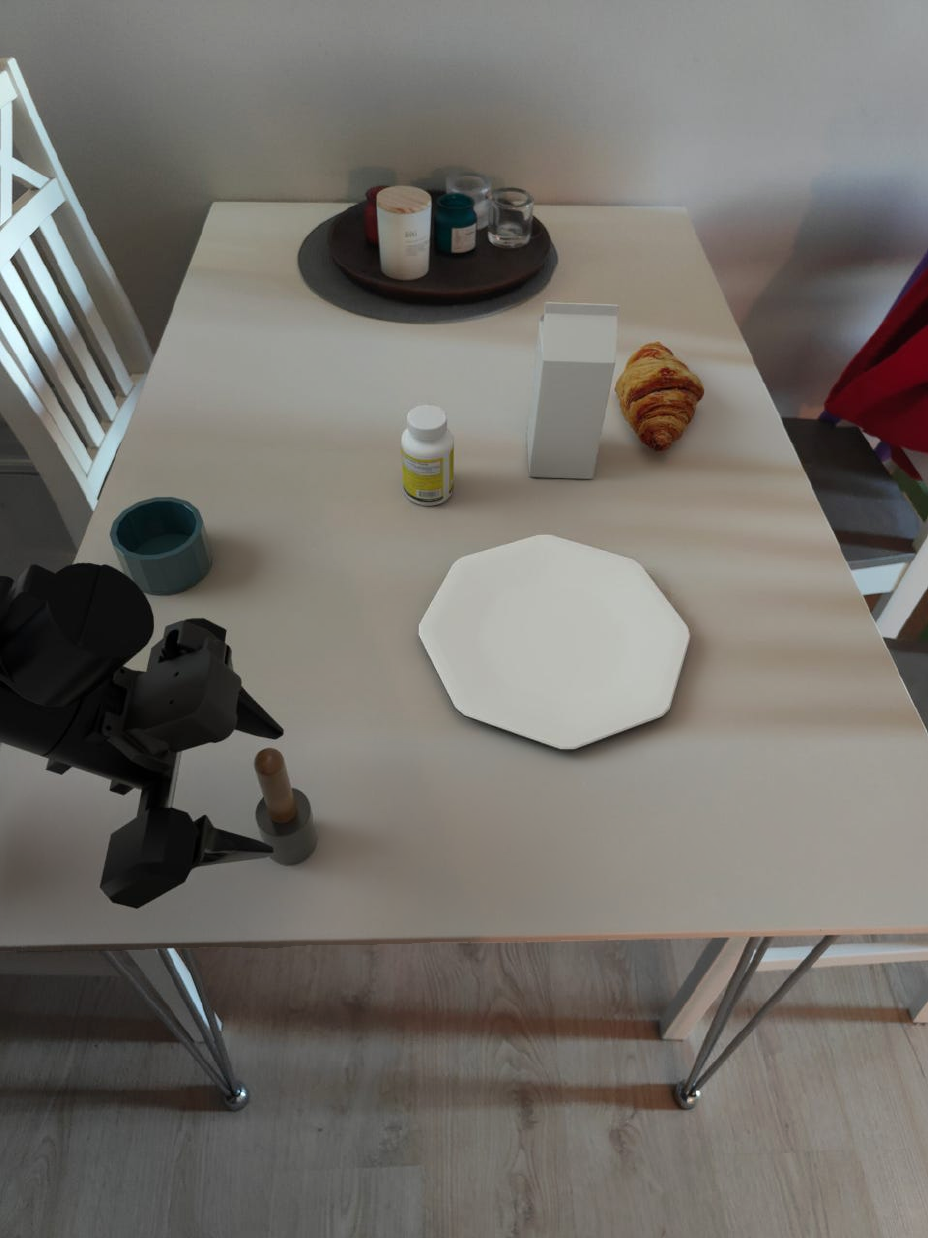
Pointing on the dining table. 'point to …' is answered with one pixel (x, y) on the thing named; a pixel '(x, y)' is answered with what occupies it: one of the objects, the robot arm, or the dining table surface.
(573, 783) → the dining table surface
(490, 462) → the dining table surface
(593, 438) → the milk carton
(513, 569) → the plate
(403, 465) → the supplement bottle
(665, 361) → the croissant
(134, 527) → the teal faceted cup
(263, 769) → the coffee tamper
